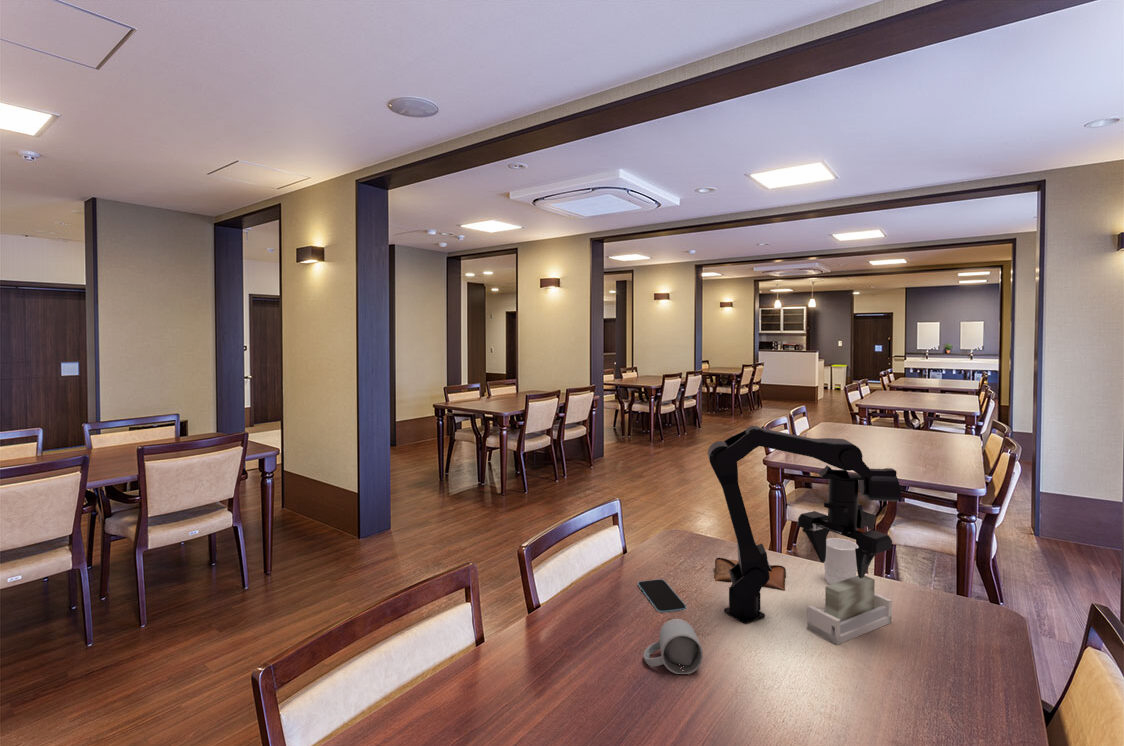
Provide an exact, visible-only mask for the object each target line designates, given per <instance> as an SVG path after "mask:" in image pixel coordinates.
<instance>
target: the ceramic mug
mask: <svg viewBox="0 0 1124 746" xmlns="http://www.w3.org/2000/svg"><path fill="white" fill-rule="evenodd" d="M658 634H659V635H658V639H659V640H657V641H655V642H653V643H651V644H650V645H648V646H647V647H646V649H645V650H644V652H643V659H644V662H645V663H646V665H647V664H648V665H647V666H649V665H650V666H649V667H652V666H653V667H659V666H662V665H664V667H665V668H666V669H667V670H668V671H670V672H671V673H673V674H675V675H678V674H688V675H691V674H693V673H694V672H695V671H697V670H698V669H699V668H700V667H701V664H702V662H703V656H704V654H703V653H704V652H703V648H702V645H701V643H700V641H699V638H698V636H697V634H696V631H695V629H694V628H693V626H692V625H691V624H690V623H689V622H688V621H686V620H684V619H681V618H672V619H671V618H670V619H669V620H667V621H666V622H665V623H664V624H662V626H661V628H660V630H659V633H658ZM659 650H660V656H657V657H653V658H652V657H651V655H652V654H654V653H655V652H656V651H659ZM650 654H651V655H650ZM650 657H651V658H650ZM679 664H680V665H679ZM683 666H684V667H683ZM653 667H652V668H653ZM681 667H682V668H681ZM680 668H681V669H680ZM682 670H684V671H682Z"/></svg>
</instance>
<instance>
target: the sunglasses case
mask: <svg viewBox="0 0 1124 746" xmlns="http://www.w3.org/2000/svg"><path fill="white" fill-rule="evenodd" d="M738 562H739V561H738V560H736V559H735V560H734V559H728V558H725V557H716V559H715V560H714V574H715V575H714V576H713V577H714V578H713V580H714V579H715V581H714V582H721V581H722V582H723V583H731V577H730V573H729V570H730V569H731V568H733V567H734V566H735V565H736V564H737V563H738ZM769 565H770V567H771V570H772V572H770V571H769V576H770V578H769V581H768V582H767V583H766V584H765V585H764V586H762V588H766V589H767V588H768V589H774V590H777V591H778V590H779V591H786V579H787V572H786V571H787V569H786V568H785V566H783V565H779V564H769Z"/></svg>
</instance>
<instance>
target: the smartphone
mask: <svg viewBox="0 0 1124 746" xmlns="http://www.w3.org/2000/svg"><path fill="white" fill-rule="evenodd" d="M638 586H639V587H640V588H641V590H642V591H643V592H642V591H641V590H640V591H641V592H642V594H643V593H644V594H645V595H646V596H647V598H648V599H649V600H650V602H651V603H652V604H653V606H654V607H655V608H656V610H657V611H659V612H668V613H671V612H670V611H676V612H678V611H677V610H684V609H686V610H687V606H686V604H685V603H684V602H683V601H682V599H681V598H680V597H679V596H678V594H677V593H676V592H675V591H674V590H673V589H672V588H671V586H670V585H669V584H668V583H667V582H666V580H665V579H661V578H658V579H657V578H656V579H649V580H642V581H638V582H637V587H638ZM639 587H638V588H639ZM644 594H643V595H644ZM645 595H644V596H645ZM646 596H645V597H646ZM647 598H646V599H647ZM648 599H647V600H648ZM649 600H648V601H649ZM650 602H649V603H650ZM651 603H650V604H651ZM652 604H651V605H652ZM653 606H652V607H653ZM654 607H653V608H654ZM655 608H654V609H655ZM656 610H655V611H656ZM657 611H656V612H657ZM684 611H685V610H684ZM659 612H658V613H659Z"/></svg>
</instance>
